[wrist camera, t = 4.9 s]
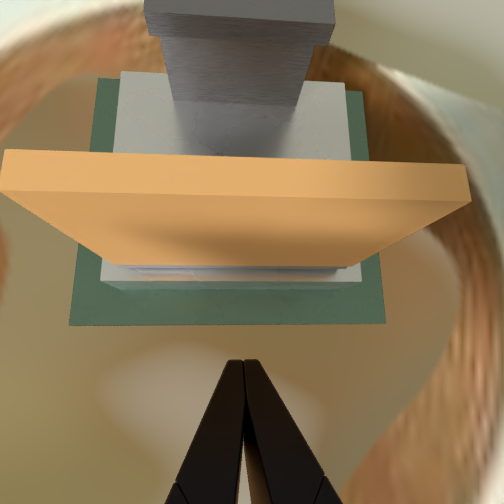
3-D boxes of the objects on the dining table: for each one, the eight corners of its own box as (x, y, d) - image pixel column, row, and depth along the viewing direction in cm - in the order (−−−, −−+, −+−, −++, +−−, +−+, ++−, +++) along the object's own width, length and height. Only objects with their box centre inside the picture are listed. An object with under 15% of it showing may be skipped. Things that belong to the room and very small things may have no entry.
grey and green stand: (378, 323, 21) (532, 311, 10) (76, 325, 20) (-95, 314, 9) (356, 100, 25) (453, -71, 14) (103, 88, 23) (5, -112, 13)
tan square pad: (344, 270, 17) (471, 201, 8) (120, 269, 16) (-3, 189, 7) (342, 251, 17) (465, 164, 9) (122, 249, 16) (5, 149, 8)
